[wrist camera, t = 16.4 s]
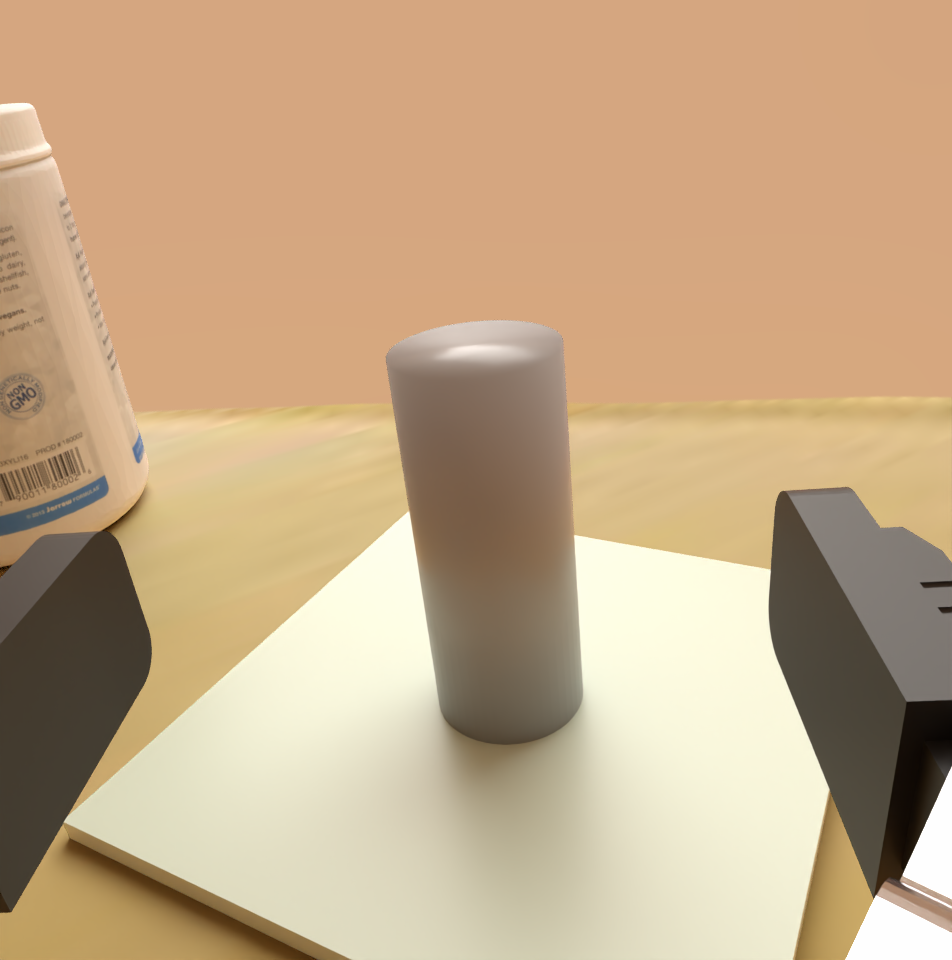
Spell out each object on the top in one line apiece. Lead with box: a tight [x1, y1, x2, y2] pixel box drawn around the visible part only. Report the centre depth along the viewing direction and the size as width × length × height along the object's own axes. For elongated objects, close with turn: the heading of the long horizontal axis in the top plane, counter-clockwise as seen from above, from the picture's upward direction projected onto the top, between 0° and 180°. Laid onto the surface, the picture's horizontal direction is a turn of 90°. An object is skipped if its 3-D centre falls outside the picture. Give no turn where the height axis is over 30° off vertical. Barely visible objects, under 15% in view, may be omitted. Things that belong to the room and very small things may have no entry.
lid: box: [63, 320, 830, 960], centre depth 20 cm, size 15×15×10 cm
